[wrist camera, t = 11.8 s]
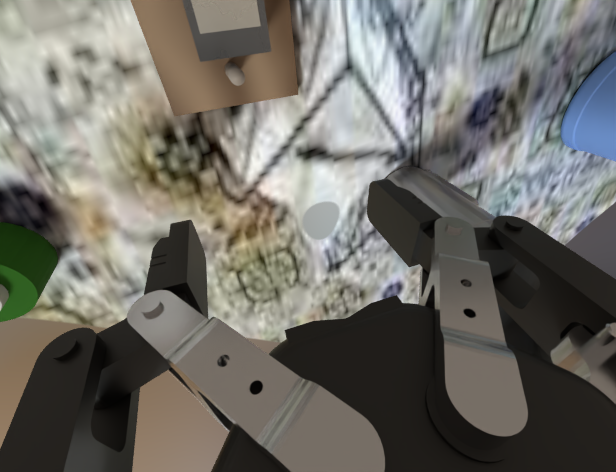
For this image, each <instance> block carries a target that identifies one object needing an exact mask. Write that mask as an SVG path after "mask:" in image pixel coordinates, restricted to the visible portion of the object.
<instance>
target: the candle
mask: <svg viewBox="0 0 616 472" xmlns="http://www.w3.org/2000/svg"><path fill="white" fill-rule="evenodd" d="M57 263H58V256H57V252H56V250H55V248H54V247H53V246H52V244H51V243H50V242H49V241H48V240H46V239H45V238H44V237H43V236H41V235H39V234H38V233H36V232H34V231H32V230H29V229H27V228H25V227H22V226H18V225H14V224H10V223H4V222H0V322H2V321H7V320H11V319H15V318H17V317H20V316H22V315H24V314H26V313H27V312H29V311H30V310H31V309H32V308H33V307H34V306H35V304H36V303H37V301H38V299H39V297H40V295H41V293H42V292H43V290H44V288H45V286H46V284H47V282H48V280H49V279H50V277H51V275H52V273H53V271H54V269H55V267H56V265H57Z"/></svg>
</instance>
